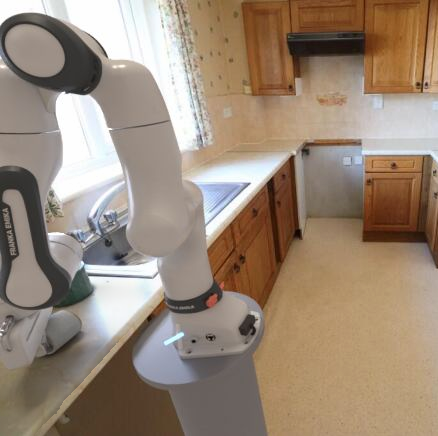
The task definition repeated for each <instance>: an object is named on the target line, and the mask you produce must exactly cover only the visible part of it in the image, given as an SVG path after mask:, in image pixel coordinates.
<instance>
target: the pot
mask: <svg viewBox="0 0 438 436" xmlns="http://www.w3.org/2000/svg"><path fill="white" fill-rule="evenodd" d="M93 290H94V288H93V284H92V282H91V279H90V277H89V274H88V273H87V271H86V267H84V268H83V269H82V270H81V271H79V272H78V273H77V274H75V276H74V278H73V280H72V284H71V287H70V290H69V293H68V295H67V297H66V298H65V299H64V300H63V301H62V302H60V303H59V304H57V305H55V306H54V307H66V306H70V305H74V304H76V303H78V302H80V301H82V300H84V299H85V298H87V297H88V296H89V295H91V293H92V292H93Z"/></svg>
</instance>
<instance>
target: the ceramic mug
mask: <svg viewBox="0 0 438 436" xmlns="http://www.w3.org/2000/svg"><path fill="white" fill-rule="evenodd" d="M82 327H83V323H82V320H81V318H80V317H79V315H77V313H75V312H74V311H73V310H69V309H61V310H59V311H56V312H55V313H51V315H50V318H49V320H48V323H47V325H46V328H45V334H46V341H47V343H48V345H49V346H48V349H47V352H46V355H53V354H54V353H55V352H57V351H58V350H59V349H60V348H61V347H63V346H64V345H65V344H66V343H67V342H69V341H70V340H71V339H72V338H74V336H76V335H77V334H78V333H79V332H80V331H81V330H82Z"/></svg>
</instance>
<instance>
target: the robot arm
mask: <svg viewBox="0 0 438 436" xmlns="http://www.w3.org/2000/svg"><path fill="white" fill-rule="evenodd" d="M69 94H71V95H78V96H89V97H91V98H92V99H93V100H94V102H95V103H96V104H97V106H98V108H99V110H100V112H101V114H102V116H103V119H104V121H105V125H106V128H107V130H108V133H109V135H110V138H111V142H112V144H113V146H114V149H115V152H116V156H117V157H118V160H119V163H120V167H121V171H122V174H123V179H124V187H125V195H126V196H125V197H126V204H127V221H126V228H125V237H126V241H127V243H128V244H129V246H130V247H131V248H132V250H134V251H135V252H136V253H138V254H140V255H142V256H145V257H147V258H154V259H155V258H157V259H156V268H157V271H158V274H159V278H160V281H161V284H162V288H163V290H164V291H163V297H164V301H165V305H166V307H167V308H168V309H169V310H170V313H171V318H172V328H173V333H172V338H171V339H169V340H167V341H165V342H164V343H165V345H167V344H169V343H171V342H173V344H174V346H175V347H176V348H177V349H178V351H179V357H180V358H181V359H191V358H202V357H214V356H225V355H237V354H242V353H243V352H245V351H246V350H247V349H248V348H249V347H250V346H251V345H252V343H253V342H254V340H255V339H256V337H257V335H258V332H259V330H260V326H261V317H260V314H259V313H258V312H254V311H250V309H249V307H248V305H247V303H246V302H245V301H243V300H241V299H239V298H237V297H236V296H235V295H231V294H229V293H227V292H225V291H226V290H223V289H224V287H225V281H222V282H221V283H220V284H219V283H218V281H217V280H216V278H214V276H213V272H212V267H211V263H210V258H209V254H208V246H207V245H208V244H207V228H206V217H205V208H204V207H205V205H204V204H205V203H204V202H205V201H204V200H205V197H204V193H203V190H202V189H201V188H200V186H198V184H197V183H195V182H194V181H191V180H189V179H185V178H183V172H182V170H183V169H182V164H183V156H182V153H181V150H180V146H179V143H178V138H177V135H176V132H175V129H174V125H173V123H172V122H173V121H172V118H171V115H170V113H169V109H168V106H167V103H166V101H165V98H164V96H163V94H162V91H161V89H160V87H159V85H158V83H157V81H156V79H155V77H154V75H153V72H151V70H150V69H149V68H148V67H147V66H145V65H143V64H142V63H141V62H138V61H134V60H131V59H112V58H109V56H108V53H107V51H106V49H105V48H104V47H103V44H102V43H100V42H99V40H97V39H96V38H95V37H94V36H93V35H91V34H90V33H89V32H87V31H85V30H83V29H81V28H79V26H77V25H75V24H73V23H71V22H69V21H66V20H64V19H61V18H57V17H53V16H51V15H48V14H45V13H41V12H22V13H17V14H13V15H11V16H9V17H7V18H6V19H5V20H4V21H2V23H0V325H1V327H0V360H1V362H2V364H3V365H4V367H5V369H6V370H8V371H15V370H18V369H22V368H25V367H28V366H30V365H31V364H33V362H34V359H35V358H41V357H43V356H45V355H47V354H46V352H47V349H48V346H49V345H48V343H47V341H46V334H45V328H46V325H47V323H48V320H49V318H50V316H51V315H52V312H53V310H54V307H56V306H55V305H57V304H59V303H60V302H62V301H63V300H64V299H65V298H66V297H67V295H68V293H69V290H70V287H71V284H72V280H73V278H74V276H75V274H76V272H77V270H78V267H79V265H80V263H81V261H83V258H84V254H85V251H84V247H83V245H82V243H81V242H80V241H79V240H78V239H77V238H76V237H74V236H73V235H70V234H68V233H65V232H59V231H53V232H49V230H48V229H49V228H48V224H47V216H46V204H47V198H48V196H49V192H50V191H51V187H52V185H53V184H54V181H55V180H56V178H57V176H58V175H59V173H60V171H61V169H62V166H63V162H64V142H63V136H62V131H61V127H60V122H59V118H58V116H59V115H58V113H57V112H58V111H57V105H58V100H59V98H60V97H61V96H62V95H69ZM189 353H190V354H189Z"/></svg>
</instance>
